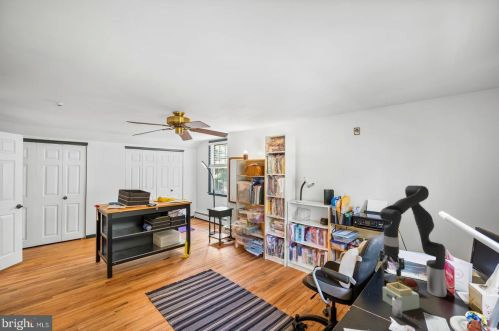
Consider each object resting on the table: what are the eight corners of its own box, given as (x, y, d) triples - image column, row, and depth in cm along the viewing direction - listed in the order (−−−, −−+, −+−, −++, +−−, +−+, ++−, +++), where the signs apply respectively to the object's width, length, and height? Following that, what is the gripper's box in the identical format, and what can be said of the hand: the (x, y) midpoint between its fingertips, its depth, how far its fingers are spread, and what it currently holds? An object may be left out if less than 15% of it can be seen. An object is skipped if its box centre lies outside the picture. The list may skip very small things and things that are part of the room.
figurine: (379, 276, 150) (400, 270, 156) (380, 288, 150) (401, 282, 156) (400, 287, 136) (422, 280, 142) (400, 301, 136) (423, 294, 142)
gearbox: (396, 294, 141) (395, 278, 142) (419, 307, 127) (418, 289, 127) (378, 297, 138) (378, 280, 138) (400, 311, 123) (399, 292, 124)
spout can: (396, 312, 123) (396, 293, 123) (404, 317, 118) (403, 297, 119) (390, 313, 122) (390, 294, 122) (397, 318, 117) (397, 298, 118)
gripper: (407, 247, 118) (408, 277, 118) (385, 240, 132) (386, 267, 131) (396, 248, 117) (397, 279, 116) (375, 240, 130) (376, 268, 130)
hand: (391, 272), depth 124 cm, fingers open, 8 cm apart
